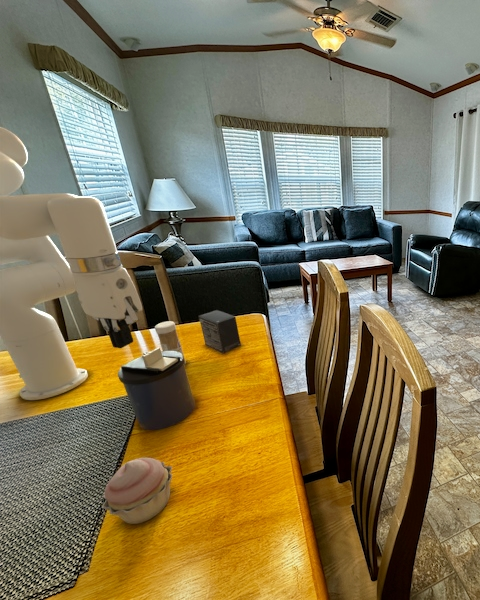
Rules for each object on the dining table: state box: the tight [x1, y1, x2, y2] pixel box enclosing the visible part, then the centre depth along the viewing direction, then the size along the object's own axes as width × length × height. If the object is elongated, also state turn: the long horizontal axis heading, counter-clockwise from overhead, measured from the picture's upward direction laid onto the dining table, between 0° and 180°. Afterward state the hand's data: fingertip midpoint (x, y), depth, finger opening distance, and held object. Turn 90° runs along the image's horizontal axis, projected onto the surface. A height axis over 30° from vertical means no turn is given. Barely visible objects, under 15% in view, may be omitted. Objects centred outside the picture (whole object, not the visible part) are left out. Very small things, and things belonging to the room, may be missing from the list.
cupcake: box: [101, 456, 173, 525], centre depth 53 cm, size 9×9×10 cm
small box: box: [197, 309, 242, 354], centre depth 103 cm, size 11×6×10 cm, turn 58°
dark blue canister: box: [117, 350, 196, 431], centre depth 73 cm, size 12×12×14 cm
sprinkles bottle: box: [154, 320, 187, 367], centre depth 92 cm, size 5×5×14 cm
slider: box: [141, 347, 178, 371], centre depth 70 cm, size 4×4×3 cm
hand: (123, 344), depth 71 cm, fingers closed
